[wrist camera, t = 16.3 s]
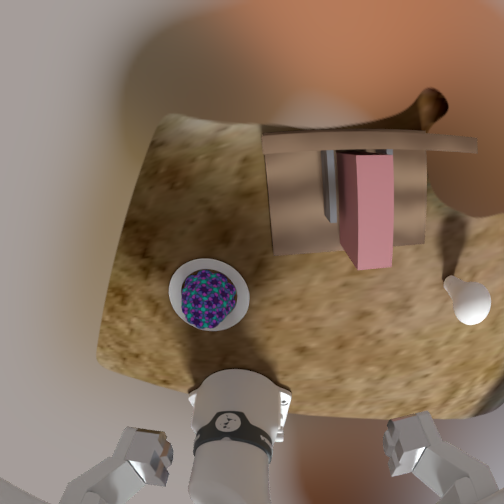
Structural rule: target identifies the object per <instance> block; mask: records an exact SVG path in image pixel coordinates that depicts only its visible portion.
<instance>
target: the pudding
mask: <svg viewBox="0 0 504 504" xmlns="http://www.w3.org/2000/svg"><path fill="white" fill-rule="evenodd" d="M201 269H212V270H216V271H219V272H221V273H223V274H224V275H226V276H227V277H228V278H229V279H230V280H231V281H232V282H233V284H234V286H235V288H236V290H235V288H234V286H233V285H232V284H229V283H228V282H227V278H226V277H225V276H224V275H223V274H220V273H214V274H213V273H211V272H210V271H209V270H202V271H199V272H198V274H197V275H190V274H191V273H193V272H194V271H197V270H201ZM188 275H190V276H189V277H187V276H188ZM186 277H187V279H186ZM185 279H186V281H185V287H184V288H183V289H182V296H181V288H182V284H183V282H184V280H185ZM236 291H237V303H236V306H235V300H234V298H233V297H234V296H235V294H236ZM169 297H170V301H171V304H172V306H173V308H174V310H175V312H176V313H177V314H178V315H179V317H180V318H182V319H183V320H184V321H185V322H186V323H188V324H189V325H191V326H193V327H195V328H198V329H201V330H206V331H220V330H224V329H228V328H230V327H232V326H234V325H235V324H237V323H238V322H239V321H240V320H241V319H242V318H243V317H244V315H245V314H246V312H247V309H248V307H249V300H250V299H249V291H248V287H247V285H246V283H245V281H244V279H243V278H242V276H241V275H240V274H239V273H238V272H237V271H236V270H235V269H234V268H232V267H231V266H230V265H228V264H226V263H224V262H221V261H218V260H215V259H208V258H207V259H196V260H192V261H189V262H187V263H185V264H184V265H182V266H181V267H180V268H179V269H177V270H176V272H175V273H174V275H173V276H172V279H171V281H170V285H169ZM234 306H235V308H234ZM233 308H234V309H233ZM232 309H233V311H232V312H231V313H230V311H231V310H232ZM229 313H230V314H229Z"/></svg>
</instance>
